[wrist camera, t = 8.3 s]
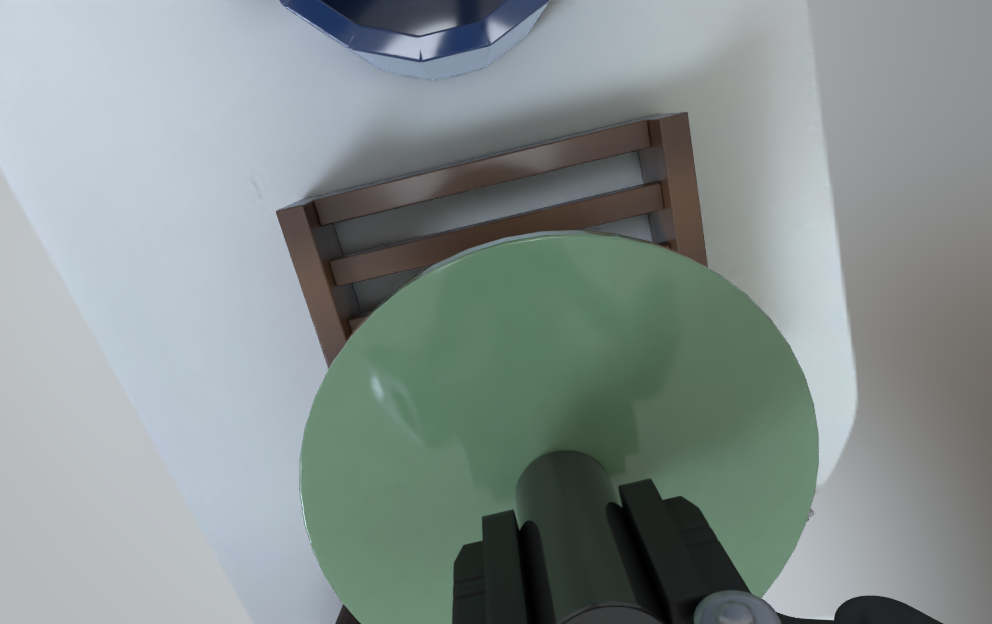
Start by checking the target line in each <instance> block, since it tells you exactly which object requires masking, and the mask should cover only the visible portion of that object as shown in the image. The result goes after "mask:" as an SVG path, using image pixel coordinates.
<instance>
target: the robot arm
mask: <svg viewBox="0 0 992 624" xmlns="http://www.w3.org/2000/svg"><path fill="white" fill-rule="evenodd" d="M619 495H620V500H621V505H622V509H623V511H624V514H625V516H626V518H627V521H628V523H629V526H630V528H631V531H632V533H633V535H634V538H635V540H636V543H637V545H638V548H639V550H640V553H641V555H642V557H643V560H644V562H645V565H646V567H647V570H648V572H649V574H650V577H651V579H652V582H653V584H654V587H655V589H656V592H657V594H658V596H659V599H660V601H661V604H662V606H663V609H664V611H665V613H666V616H667V618H668V621H669V623H670V624H943V623H941V622H939V621H937V620H935V619H933V618H931V617H929V616H928V615H926V614H924V613H922V612H920V611H918V610H916V609H914V608H913V607H911V606H909V605H907V604H904V603H902V602H900V601H897V600H894V599H891V598H886V597H880V596H859V597H855V598H852V599H850V600H847V601H846V602H844V603H843V604H842V605H841V606H840V607H839V608H838V610H837V611H836V613H835V618H834V620H816V619H801V618H794V617H789V616H786V615H783V614H780V613H777V612H775V610H774V609H773V608H772V607H771V606H770V605H769V604H768V603H767V602H766V601H765V600H763V599H761V598H760V597H758V596H756V595H753V594H752V593H751V592H750V590H749V588H748V587H747V585H746V584H745V582H744V580H743V579H742V577H741V575H740V574H739V572H738V571H737V569H736V567H735V566H734V564H733V562H732V561H731V559H730V557H729V556H728V554H727V553H726V551H725V549H724V548H723V546H722V544H721V543H720V541H718V539H717V536H716V535H715V533H714V531H713V530H712V528H711V527H710V526H709V523H708V522H707V520H706V518H705V517H704V515H703V513H702V512H701V510H700V508H699V507H697V506H696V505H694V504H693V503H691V502H690V501H688V500H687V499H685V498H684V497H682V496H677V497H673V498H668V499H664V500H662V498H661V496H660V494H659V492H658V490H657V488H656V486H655V484H654V482H653V481H652V479H651V478H649V479H645V480H640V481H636V482H632V483H627V484H623V485H619ZM482 535H483V540H482V541H478V542H474V543H469V544H465V545H463V546H462V548H461V550H460V552H459V554H458V556H457V558H456V560H455V562H454V570H453V583H454V585H453V608H452V624H532V619H531V611H530V604H529V596H528V589H527V582H526V574H525V567H524V559H523V552H522V544H521V537H520V530H519V526H518V522H517V519H516V515H515V512H514V509H512V510H508V511H504V512H499V513H495V514H490V515H486V516H482Z"/></svg>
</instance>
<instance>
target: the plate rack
mask: <svg viewBox="0 0 992 624" xmlns="http://www.w3.org/2000/svg"><path fill="white" fill-rule="evenodd" d="M637 150H638V151H639V157H640V164H641V170H642V177H643V183H644V184H641V185H637V186H633V187H628V188H624V189H620V190H616V191H612V192H607V193H603V194H599V195H595V196H591V197H586V198H582V199H578V200H574V201H570V202H565V203H561V204H557V205H553V206H549V207H544V208H540V209H536V210H532V211H528V212H524V213H519V214H515V215H511V216H507V217H503V218H498V219H494V220H490V221H486V222H482V223H477V224H473V225H469V226H465V227H461V228H456V229H452V230H448V231H444V232H440V233H435V234H431V235H427V236H423V237H419V238H414V239H410V240H406V241H402V242H398V243H393V244H389V245H385V246H381V247H377V248H372V249H368V250H364V251H360V252H356V253H351V254H347V255H343V254H342V251H341V248H340V245H339V241H338V238H337V235H336V232H335V229H334V225H333V223H337V222H341V221H345V220H349V219H353V218H358V217H362V216H366V215H370V214H374V213H378V212H383V211H387V210H391V209H395V208H399V207H404V206H408V205H412V204H416V203H420V202H424V201H429V200H433V199H437V198H441V197H445V196H449V195H454V194H458V193H462V192H466V191H470V190H475V189H479V188H483V187H487V186H491V185H495V184H500V183H504V182H508V181H512V180H516V179H520V178H525V177H529V176H533V175H537V174H541V173H545V172H550V171H554V170H558V169H562V168H566V167H571V166H575V165H579V164H583V163H587V162H591V161H596V160H600V159H604V158H608V157H612V156H616V155H621V154H625V153H629V152H633V151H637ZM646 213H648V215H649V221H650V228H651V234H652V241H653V243H655V244H658V245H660V246H663V247H666V248H668V249H671V250H674V251H676V252H679V253H681V254H684V255H686V256H687V257H689V258H691V259H693V260H695V261H696V262H698V263H700V264H702V265H704V266H705V267H707V268H708V265H707V258H706V250H705V242H704V235H703V227H702V219H701V212H700V204H699V197H698V189H697V181H696V174H695V166H694V158H693V151H692V143H691V135H690V128H689V120H688V113H687V112H680V113H665V114H656V115H652V116H647V117H643V118H639V119H635V120H631V121H627V122H623V123H618V124H614V125H610V126H606V127H602V128H598V129H593V130H589V131H585V132H581V133H577V134H573V135H568V136H564V137H560V138H556V139H552V140H548V141H544V142H539V143H535V144H531V145H527V146H523V147H519V148H514V149H510V150H506V151H502V152H498V153H494V154H490V155H485V156H481V157H477V158H473V159H469V160H465V161H460V162H456V163H452V164H448V165H444V166H440V167H435V168H431V169H427V170H423V171H419V172H415V173H411V174H406V175H402V176H398V177H394V178H390V179H386V180H381V181H377V182H373V183H369V184H365V185H361V186H357V187H352V188H348V189H344V190H340V191H336V192H332V193H327V194H324V195H319V196H315V197H311V198H307V199H303V200H300V201H297V202H295V203H293V204H291V205H288V206H286V207H284V208H281V209H279V210H277V211H276V214H277V217H278V220H279V223H280V226H281V229H282V232H283V235H284V238H285V241H286V244H287V247H288V250H289V253H290V256H291V259H292V262H293V265H294V267H295V270H296V273H297V276H298V279H299V282H300V285H301V288H302V291H303V294H304V297H305V300H306V303H307V306H308V309H309V312H310V315H311V318H312V321H313V324H314V327H315V330H316V333H317V336H318V339H319V342H320V345H321V348H322V351H323V354H324V357H325V360H326V363H327V365H328V368H330V366H331V364H332V362H333V361H334V359H335V357H336V356H337V355H338V353H339V352H340V350H341V349H342V347H343V346H344V344H345V343H346V341H347V340H348V339H349V337H350V336H351V334H352V333H353V331H354V330H355V329H356V328H357V327H358V326H359V325H360V324H361V323H362V322H363V321H364V319H365V318H366V317H367V316H368V315H369V314H370V313H371V312H372V311H373V310H372V311H368V312H364V313H361V312H360V309H359V306H358V303H357V299H356V296H355V293H354V290H353V286H352V283H355V282H359V281H364V280H368V279H372V278H376V277H381V276H385V275H389V274H393V273H397V272H402V271H406V270H410V269H414V268H418V267H423V266H427V265H431V264H435V263H439V262H441V261H443V260H445V259H447V258H449V257H452V256H454V255H456V254H458V253H460V252H463V251H465V250H467V249H469V248H473V247H476V246H479V245H482V244H486V243H489V242H492V241H495V240H499V239H502V238H506V237H512V236H518V235H524V234H529V233H535V232H541V231H567V230H579V229H583V228H587V227H591V226H595V225H600V224H604V223H608V222H612V221H617V220H621V219H625V218H629V217H633V216H638V215H642V214H646Z"/></svg>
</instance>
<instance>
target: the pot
mask: <svg viewBox="0 0 992 624" xmlns="http://www.w3.org/2000/svg"><path fill="white" fill-rule="evenodd" d="M279 1H280V3H281V4H282V5H283V6H284V7H286V9H288V10H289V11H291V12H292V13H294V14H295V15H297V16H298V17H300V18H301V19H303V20H304V21H306V22H307V23H309V24H310V25H312V26H313V27H315V28H316V29H318V30H319V31H321V32H322V33H324V34H325V35H327V36H328V37H330V38H331V39H333V40H334V41H336V42H337V43H339V44H340V45H342V46H344V47H345V48H347V49H348V50H350V51H351V52H353V53H354V54H356V55H357V56H359V57H361V58H362V59H364V60H365V61H367V62H368V63H370V64H371V65H373V66H375V67H376V68H378V69H379V70H382V71H384V72H389V73H394V74H399V75H403V76H407V77H415V78H422V79H428V80H433V79H434V80H438V79H442V78H447V77H453V76H459V75H462V74H465V73H468V72H471V71H475V70H479V69H483V68H485V67H486V66H488V65H489V64H490V63H492V62H493V61H494V60H496V59H497V58H498V57H500V56H502V55H503V54H505V53H506V52H507V51H508V50H509V49H510V48H511V47H513V46H514V45H515V44H517V43H518V42H519V41H521V40H522V39H523V38H524V37H526V35H527V34H528V33H529V31H530V30H531V28H532V27H533V25H534V24H535V22H536V21H537V19H538V18H539V16H540V15H541V13H542V12H543V10H544V9H545V7H546V6H547V4H548V3H549V1H550V0H279Z"/></svg>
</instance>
